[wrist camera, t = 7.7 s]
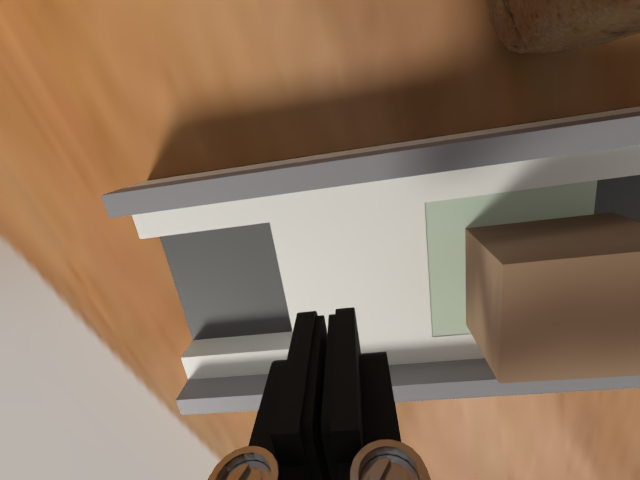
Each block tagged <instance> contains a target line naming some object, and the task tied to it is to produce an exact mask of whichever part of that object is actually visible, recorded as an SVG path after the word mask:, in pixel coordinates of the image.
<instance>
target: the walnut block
mask: <svg viewBox="0 0 640 480" xmlns="http://www.w3.org/2000/svg"><path fill="white" fill-rule="evenodd" d="M465 256H466V325H467V327H468V329H469V331H470V332H471V334H472V336H473V338H474V339H475V341H476V343H477V345H478V347H479V348H480V350H481V352H482V354H483V355H484V357H485V359H486V361H487V363H488V364H489V366H490V368H491V370H492V371H493V373H494V375H495V377H496V379H497V380H498V382H499V383H514V382H532V381H550V380H567V379H585V378H603V377H621V376H638V375H640V223H639V222H637V221H634V220H631V219H628V218H626V217H623V216H620V215H618V214H615V213H612V212H611V213H602V214H592V215H583V216H574V217H565V218H556V219H547V220H538V221H528V222H519V223H510V224H501V225H492V226H483V227H473V228H465Z"/></svg>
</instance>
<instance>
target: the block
mask: <svg viewBox="0 0 640 480" xmlns="http://www.w3.org/2000/svg"><path fill="white" fill-rule="evenodd" d="M486 3H487V5H488V9H489V16H490V21H491V23H492V26H493V28H494V30H495V32H496V33H497V35H498V37H499V39H500V40H501V41H502V43H503V44H504V45H505V47H506V48H507V49H508V50H510V51H513V52H515V53H530V54H537V53H550V52H560V51H568V50H574V49H579V48H584V47H590V46H595V45H599V44H603V43H606V42H610V41H613V40H616V39H620V38H623V37H626V36H630V35H633V34H636V33H640V0H486Z"/></svg>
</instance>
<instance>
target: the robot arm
mask: <svg viewBox="0 0 640 480" xmlns="http://www.w3.org/2000/svg"><path fill="white" fill-rule="evenodd" d="M208 480H431V479H430V476H429V474H428V471H427V468H426V466H425V464H424V462H423V461H422V459H421V457H420V456H419V455H418V454H417V453H416V452H415V451H414V450H413V449H412V448H411V447H409V446H407V445H406V444H404V443H402V442H401V438H400V432H399V426H398V420H397V413H396V407H395V401H394V395H393V389H392V383H391V377H390V370H389V364H388V358H387V353H386V352H375V353H362V354H361V350H360V342H359V335H358V328H357V321H356V314H355V308H354V307H351V308H341V309H336V311H335V314H331V315H329V319H328V333H327V328H326V323H325V318H324V315H320V316H318V314H317V312H316V311H310V312H299V313H297V316H296V320H295V325H294V329H293V334H292V338H291V343H290V347H289V352H288V356H287V360H275V361H273V362H272V364H271V367H270V370H269V374H268V377H267V381H266V385H265V388H264V392H263V395H262V399H261V403H260V406H259V410H258V413H257V417H256V421H255V424H254V428H253V432H252V435H251V439H250V442H249V446H246V447H243V448H240V449H237V450H235V451H233V452H232V453H230V454H228V455H227V456H225V457H224V458H223V459H222V460H221V461H220V462H219V463H218V464H217V465H216V467H215V468H214V470H213V472H212V473H211V475H210V476H209V478H208Z"/></svg>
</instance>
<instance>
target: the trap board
mask: <svg viewBox="0 0 640 480" xmlns="http://www.w3.org/2000/svg"><path fill="white" fill-rule="evenodd" d="M101 197H102V200H103V202H104V205H105V208H106V211H107V213H108V216H109V218H114V217H121V216H128V215H132V217H133V220H134V223H135V226H136V229H137V231H138V234H139V237H140V239H144V238H152V237H160V239H161V242H162V245H163V248H164V251H165V255H166V258H167V261H168V264H169V267H170V270H171V273H172V276H173V279H174V282H175V286H176V289H177V292H178V295H179V298H180V301H181V304H182V307H183V310H184V313H185V317H186V320H187V323H188V326H189V329H190V332H191V335H192V338H193V341H192V343H191V344H190V345H189V347H188V348H187V350H186V351H185V353H184V354H183V356H182V357H181V360H182V363H183V365H184V368H185V371H186V374H187V377H188V381H187V383H186V384H185V386H184V388H183V389H182V391H181V393H180V394H179V396H178V398H177V399H176V402H177V404H178V407H179V410H180V413H181V415H189V414H205V413H222V412H239V411H256V410H259V406H260V403H261V399H262V395H263V392H264V388H265V385H266V381H267V377H268V374H269V370H270V367H271V364H272V362H273V361H275V360H287V356H288V352H289V347H290V343H291V338H292V334H293V329H294V325H295V320H296V316H297V313H299V312H310V311H316V312H317V314H318V316H320V315H324V318H325V323H326V328H327V333H328V319H329V315H331V314H335V311H336V309H341V308H351V307H354V308H355V314H356V321H357V328H358V335H359V342H360V350H361V354H362V353H375V352H386V353H387V358H388V364H389V370H390V377H391V383H392V389H393V395H394V401H395V402H407V401H424V400H441V399H458V398H475V397H492V396H508V395H525V394H542V393H559V392H576V391H593V390H609V389H626V388H640V375H638V376H621V377H603V378H585V379H567V380H550V381H532V382H514V383H499V382H498V380H497V379H496V377H495V375H494V373H493V371H492V370H491V368H490V366H489V364H488V363H487V361H486V359H485V357H484V355H483V354H482V352H481V350H480V348H479V347H478V345H477V343H476V341H475V339H474V338H473V336H472V334H471V332H470V331H469V329H468V327H467V325H466V256H465V228H473V227H483V226H492V225H501V224H510V223H519V222H528V221H538V220H547V219H556V218H565V217H574V216H583V215H592V214H602V213H611V212H612V213H615V214H618V215H620V216H623V217H626V218H628V219H631V220H634V221H637V222H639V223H640V106H639V107H632V108H626V109H619V110H612V111H606V112H599V113H593V114H586V115H579V116H573V117H566V118H559V119H553V120H546V121H540V122H533V123H526V124H520V125H513V126H506V127H500V128H493V129H487V130H480V131H473V132H467V133H460V134H453V135H447V136H440V137H434V138H427V139H420V140H414V141H407V142H400V143H394V144H387V145H381V146H374V147H367V148H361V149H354V150H347V151H341V152H334V153H328V154H321V155H314V156H308V157H301V158H294V159H288V160H281V161H275V162H268V163H261V164H255V165H248V166H241V167H235V168H228V169H222V170H215V171H208V172H202V173H195V174H188V175H182V176H175V177H169V178H162V179H155V180H149V181H144V182H141V183H138V184H135V185H132V186H129V187H126V188H123V189H120V190H116V191H113V192H110V193H107V194H104V195H101Z"/></svg>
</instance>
